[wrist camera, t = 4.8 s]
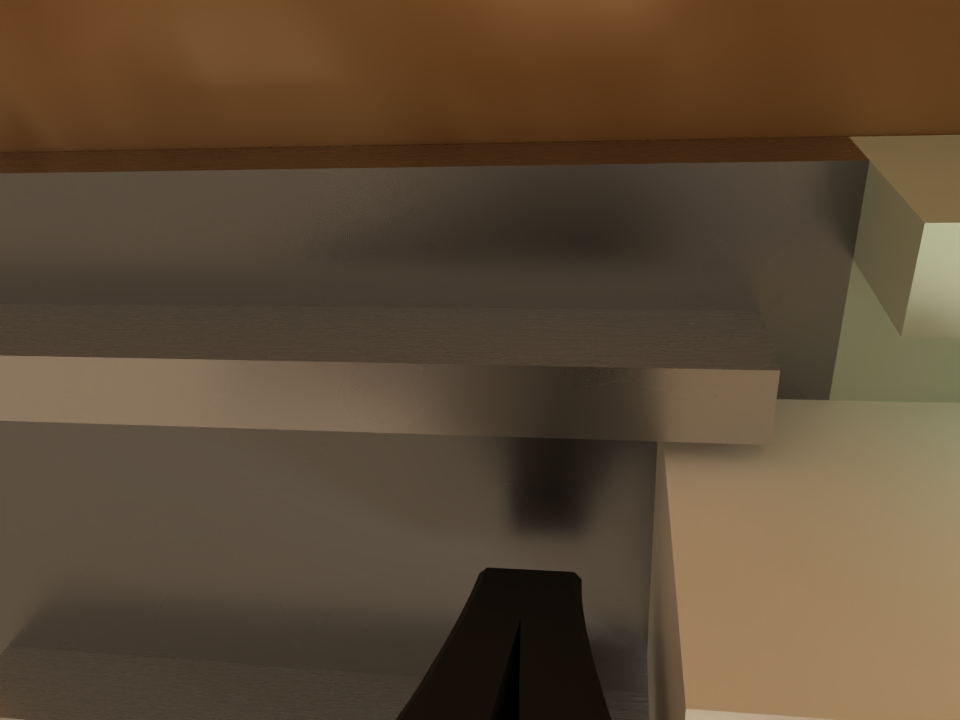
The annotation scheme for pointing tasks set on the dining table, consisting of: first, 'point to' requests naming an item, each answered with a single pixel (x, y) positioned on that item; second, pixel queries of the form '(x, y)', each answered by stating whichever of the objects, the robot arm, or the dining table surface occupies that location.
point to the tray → (904, 276)
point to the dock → (375, 399)
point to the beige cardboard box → (810, 568)
